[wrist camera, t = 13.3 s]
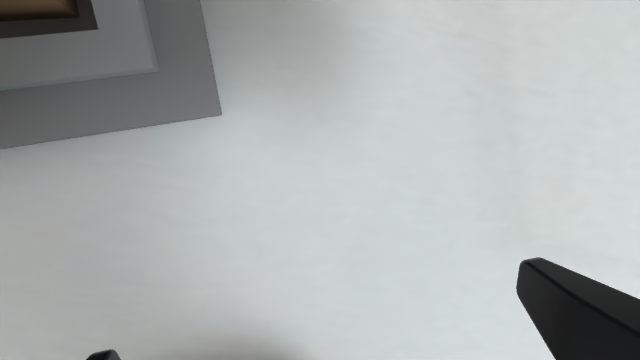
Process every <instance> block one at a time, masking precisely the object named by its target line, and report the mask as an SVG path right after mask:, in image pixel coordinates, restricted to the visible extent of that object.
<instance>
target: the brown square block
mask: <svg viewBox="0 0 640 360" xmlns="http://www.w3.org/2000/svg"><path fill="white" fill-rule="evenodd" d="M77 17H80V15H79V11H78V7H77V2H76V0H0V22H4V21H22V20H40V19H59V18H77Z"/></svg>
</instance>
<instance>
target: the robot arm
mask: <svg viewBox="0 0 640 360" xmlns="http://www.w3.org/2000/svg"><path fill="white" fill-rule="evenodd" d="M516 289H517V294H518V297H519V299H520V301H521V302H522V304H523V306H524V307H525V309H526V311H527V313H528V314H529V316H530V318H531V319H532V321H533V323H534V324H535V326H536V328H537V329H538V331H539V333H540V335H541V336H542V338H543V340H544V341H545V343H546V345H547V346H548V348H549V350H550V351H551V353H552V355H553V356H554V358H555V359H556V360H640V299H638V298H635V297H633V296H631V295H628V294H626V293H624V292H621V291H619V290H616V289H614V288H612V287H609V286H607V285H605V284H602V283H600V282H597V281H595V280H593V279H590V278H588V277H586V276H583V275H581V274H579V273H576V272H574V271H571V270H569V269H567V268H564V267H562V266H560V265H557V264H555V263H553V262H550V261H548V260H545V259H543V258H532V259H527V260H524V261H522V262H521V263H520V266H519V273H518V279H517V286H516ZM86 360H121V359H120V357H119V356H118V354H117V352H116V351H115V350H111V349H110V350H105V351H101V352H96V353H93V354H92V355H90V356H89V357H88V358H87V359H86Z"/></svg>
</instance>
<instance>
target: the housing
mask: <svg viewBox="0 0 640 360" xmlns="http://www.w3.org/2000/svg"><path fill="white" fill-rule="evenodd" d="M76 2H77V7H78V11H79V15H80V17H77V18H59V19H40V20H22V21H4V22H0V149H4V148H11V147H18V146H24V145H31V144H37V143H44V142H50V141H57V140H63V139H70V138H76V137H83V136H89V135H96V134H102V133H109V132H115V131H122V130H128V129H135V128H141V127H148V126H155V125H161V124H168V123H174V122H181V121H187V120H194V119H200V118H207V117H213V116H220V115H222V112H221V107H220V101H219V96H218V91H217V86H216V81H215V76H214V71H213V66H212V61H211V55H210V50H209V45H208V40H207V35H206V30H205V25H204V20H203V15H202V9H201V4H200V0H76Z"/></svg>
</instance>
